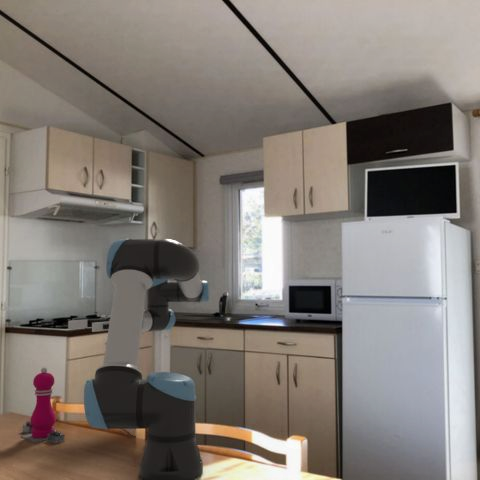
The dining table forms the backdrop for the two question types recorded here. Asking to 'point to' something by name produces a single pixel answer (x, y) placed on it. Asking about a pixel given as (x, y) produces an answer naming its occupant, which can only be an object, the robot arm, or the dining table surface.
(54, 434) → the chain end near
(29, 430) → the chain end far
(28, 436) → the plate
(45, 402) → the pepper mill
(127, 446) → the dining table surface
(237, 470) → the dining table surface
